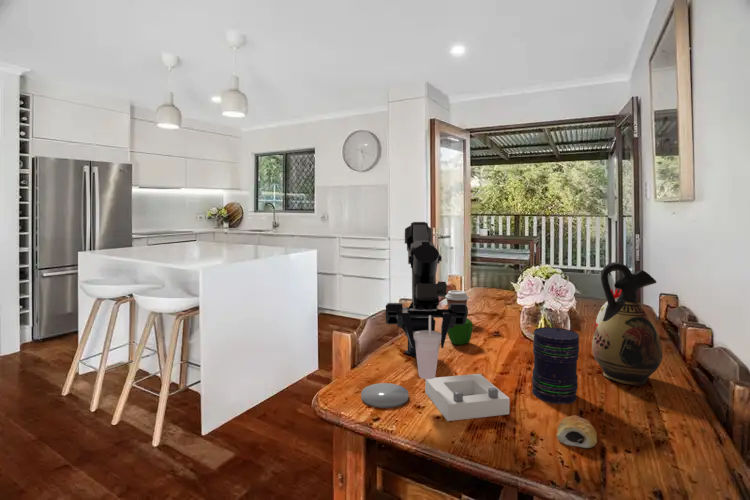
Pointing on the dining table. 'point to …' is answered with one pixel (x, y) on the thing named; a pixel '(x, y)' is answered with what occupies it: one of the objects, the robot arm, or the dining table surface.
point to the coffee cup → (456, 297)
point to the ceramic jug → (626, 331)
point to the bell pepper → (461, 333)
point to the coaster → (384, 395)
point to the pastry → (576, 432)
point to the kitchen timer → (603, 309)
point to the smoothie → (427, 351)
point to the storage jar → (555, 365)
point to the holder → (466, 397)
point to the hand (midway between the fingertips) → (427, 347)
